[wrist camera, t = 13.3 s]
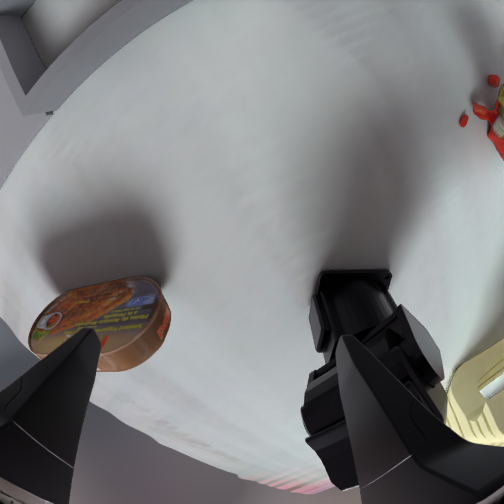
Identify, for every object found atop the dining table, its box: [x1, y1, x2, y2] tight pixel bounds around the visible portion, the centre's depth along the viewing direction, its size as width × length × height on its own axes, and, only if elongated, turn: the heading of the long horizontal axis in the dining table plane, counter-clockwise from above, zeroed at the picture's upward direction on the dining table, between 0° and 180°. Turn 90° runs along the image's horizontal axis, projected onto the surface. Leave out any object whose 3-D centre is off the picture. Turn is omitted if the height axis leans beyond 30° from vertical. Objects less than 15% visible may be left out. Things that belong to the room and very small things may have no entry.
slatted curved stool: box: [446, 338, 504, 447], centre depth 25 cm, size 30×16×18 cm, turn 23°
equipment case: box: [0, 0, 192, 189], centre depth 10 cm, size 13×26×4 cm, turn 120°
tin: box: [28, 276, 171, 372], centre depth 20 cm, size 15×3×8 cm, turn 103°
